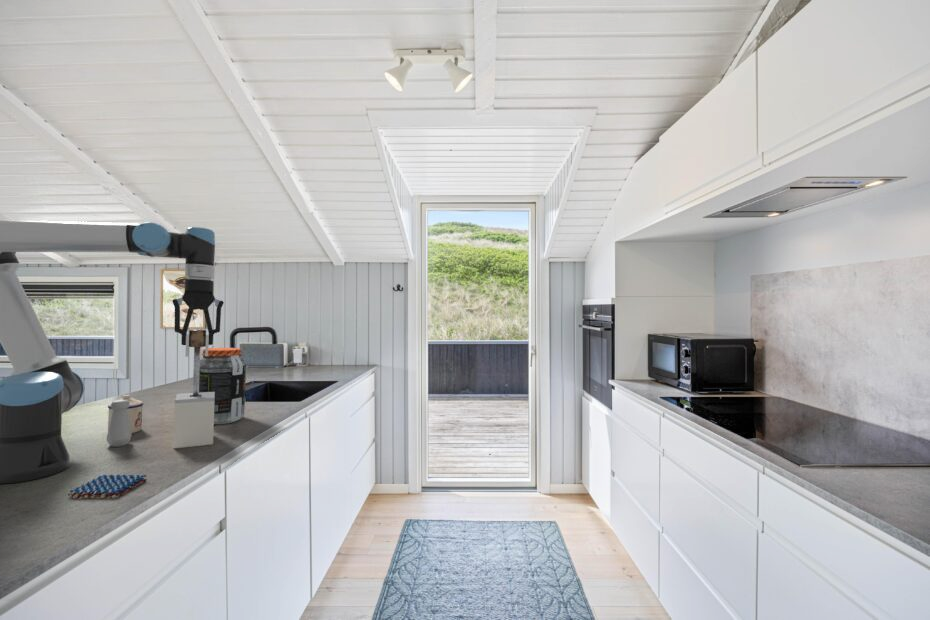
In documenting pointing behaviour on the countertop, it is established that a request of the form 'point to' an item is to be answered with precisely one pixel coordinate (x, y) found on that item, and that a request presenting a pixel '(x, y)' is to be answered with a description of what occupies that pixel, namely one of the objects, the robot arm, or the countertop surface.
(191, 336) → the wooden block topped rod
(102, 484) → the woven mat
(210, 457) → the countertop surface
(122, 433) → the salt shaker
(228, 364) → the supplement tub
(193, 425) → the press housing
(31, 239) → the robot arm
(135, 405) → the cream lidded canister
